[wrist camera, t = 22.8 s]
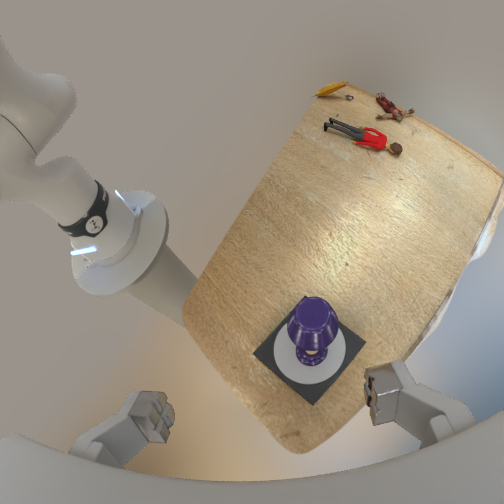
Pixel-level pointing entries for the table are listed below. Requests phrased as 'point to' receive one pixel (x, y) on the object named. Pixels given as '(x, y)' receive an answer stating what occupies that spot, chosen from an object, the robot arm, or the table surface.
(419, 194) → the table surface
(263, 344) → the kitchen scale
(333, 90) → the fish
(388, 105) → the figurine
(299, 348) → the toy lamp
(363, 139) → the person figure
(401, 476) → the robot arm
